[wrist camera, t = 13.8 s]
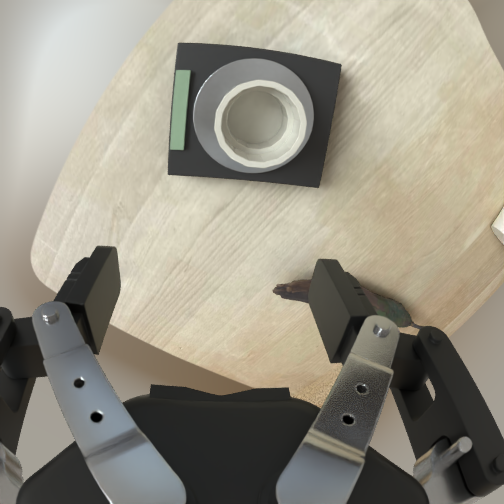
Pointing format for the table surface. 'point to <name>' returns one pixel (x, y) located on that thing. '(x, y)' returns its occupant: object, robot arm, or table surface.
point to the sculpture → (380, 304)
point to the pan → (224, 82)
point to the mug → (499, 226)
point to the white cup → (260, 123)
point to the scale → (213, 58)
